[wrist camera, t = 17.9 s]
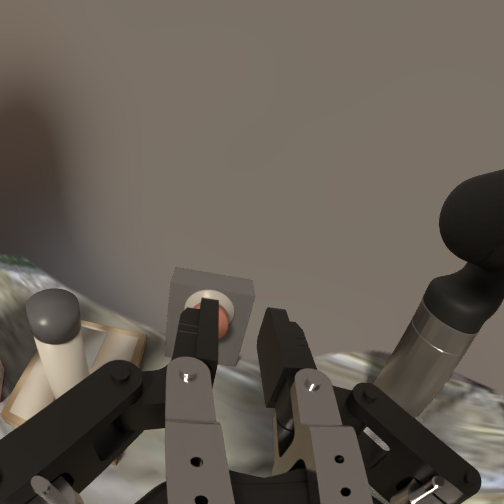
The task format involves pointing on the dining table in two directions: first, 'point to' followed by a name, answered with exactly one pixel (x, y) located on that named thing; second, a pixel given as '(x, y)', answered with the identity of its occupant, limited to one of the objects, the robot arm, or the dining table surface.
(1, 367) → the cracker box
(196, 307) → the button
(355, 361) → the dining table surface
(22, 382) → the beige board with ring
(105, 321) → the dining table surface
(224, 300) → the button panel
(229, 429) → the dining table surface
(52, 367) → the white shaker grey cap
